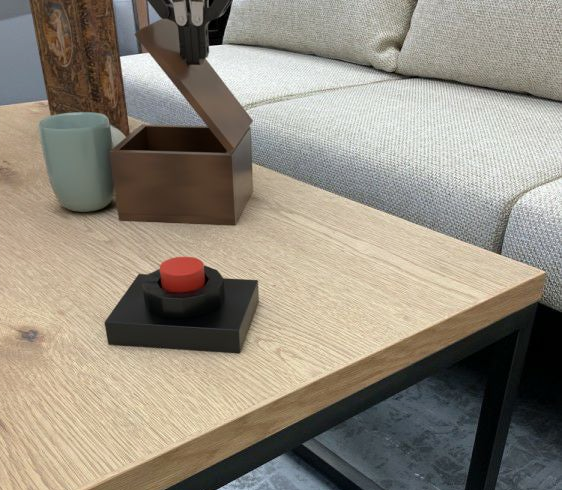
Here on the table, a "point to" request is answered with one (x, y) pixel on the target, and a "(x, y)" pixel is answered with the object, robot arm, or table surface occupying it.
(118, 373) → the table surface
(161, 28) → the lid
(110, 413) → the table surface
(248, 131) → the chest
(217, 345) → the black button base
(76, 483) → the table surface
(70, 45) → the book
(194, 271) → the button
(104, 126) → the cup
